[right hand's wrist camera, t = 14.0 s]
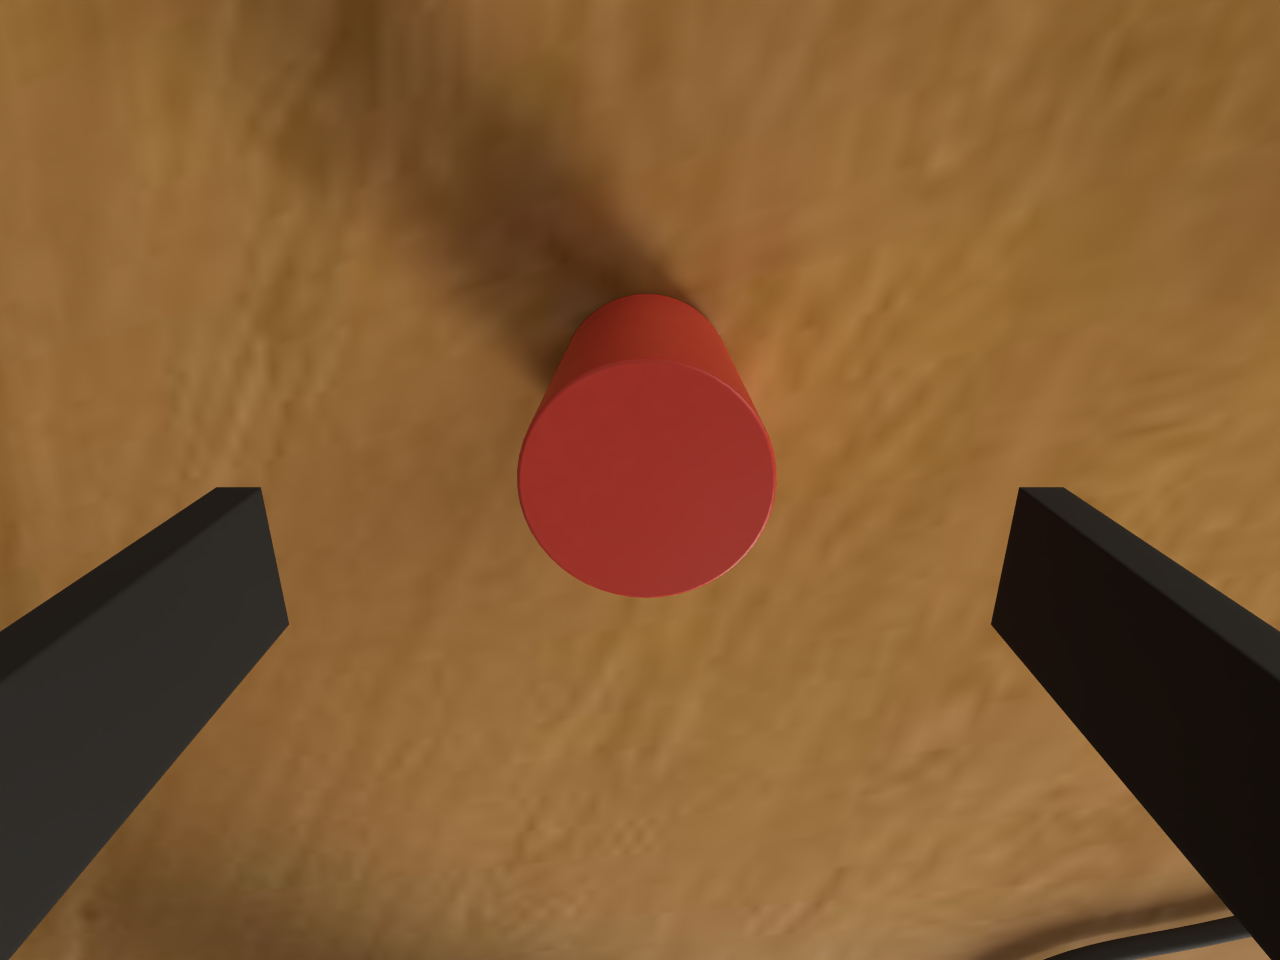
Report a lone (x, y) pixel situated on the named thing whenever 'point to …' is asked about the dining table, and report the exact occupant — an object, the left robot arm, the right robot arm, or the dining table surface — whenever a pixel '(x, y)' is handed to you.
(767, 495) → the can
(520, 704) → the dining table surface
